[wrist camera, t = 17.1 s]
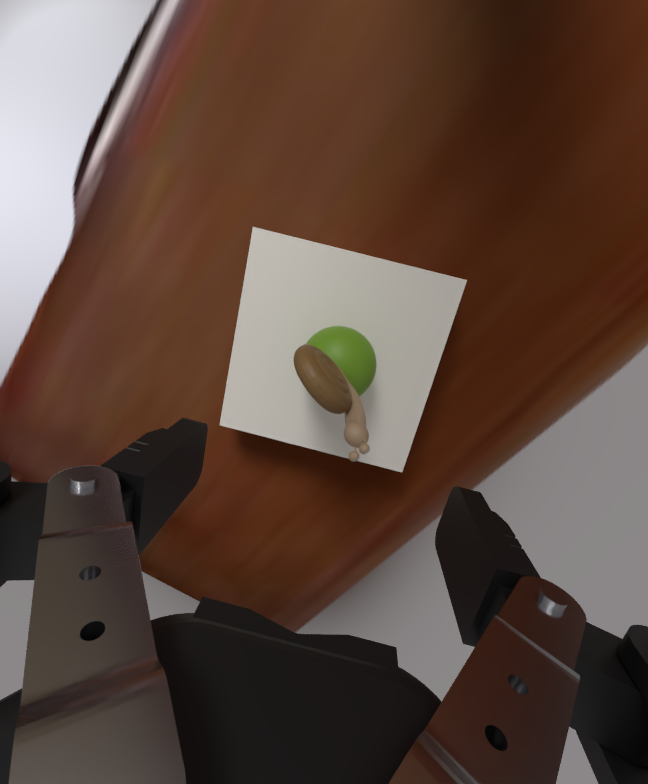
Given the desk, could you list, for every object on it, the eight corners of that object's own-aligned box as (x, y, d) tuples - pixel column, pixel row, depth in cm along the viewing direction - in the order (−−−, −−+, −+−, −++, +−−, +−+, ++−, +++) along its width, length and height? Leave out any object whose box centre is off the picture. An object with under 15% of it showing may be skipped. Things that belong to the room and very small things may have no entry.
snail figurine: (346, 414, 30) (320, 488, 19) (294, 353, 30) (236, 392, 18) (400, 373, 29) (408, 427, 17) (346, 308, 28) (318, 319, 17)
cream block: (268, 235, 32) (253, 226, 27) (450, 280, 32) (467, 280, 27) (237, 406, 37) (219, 425, 32) (396, 447, 36) (402, 472, 32)
